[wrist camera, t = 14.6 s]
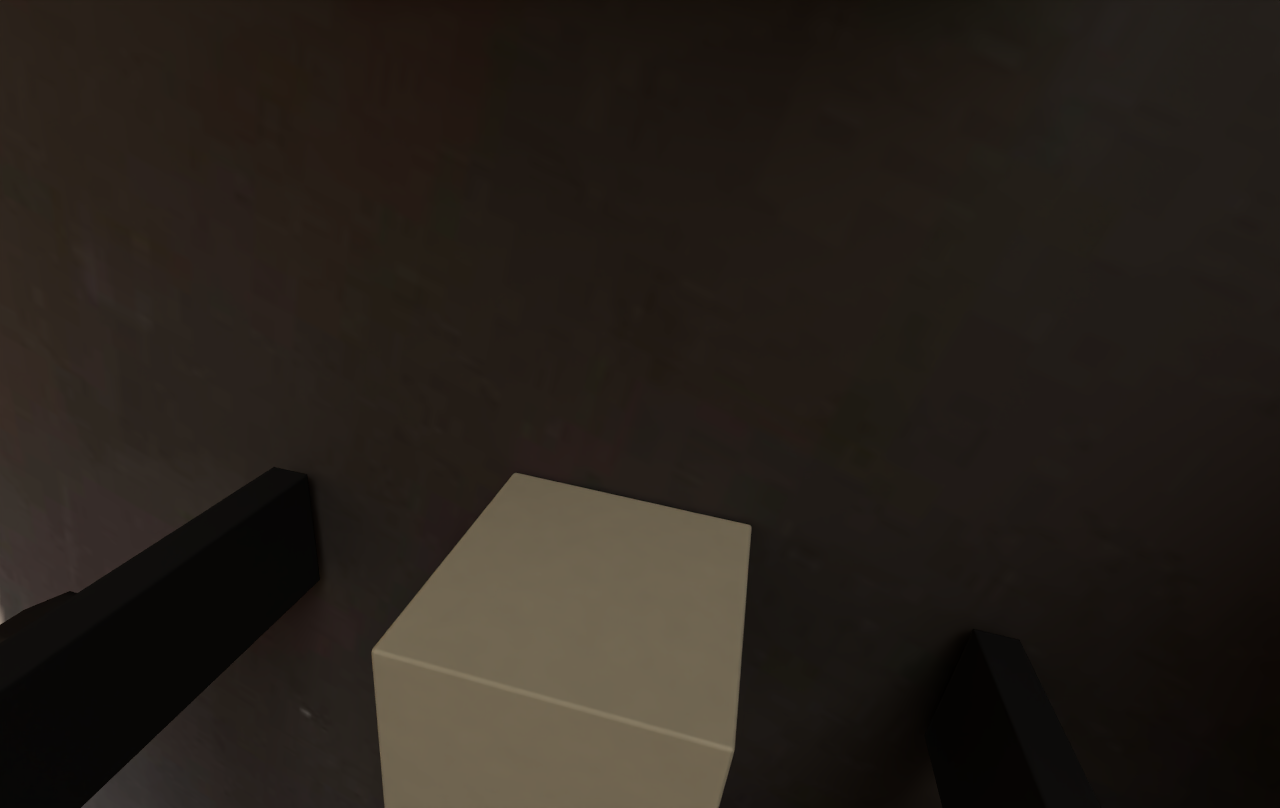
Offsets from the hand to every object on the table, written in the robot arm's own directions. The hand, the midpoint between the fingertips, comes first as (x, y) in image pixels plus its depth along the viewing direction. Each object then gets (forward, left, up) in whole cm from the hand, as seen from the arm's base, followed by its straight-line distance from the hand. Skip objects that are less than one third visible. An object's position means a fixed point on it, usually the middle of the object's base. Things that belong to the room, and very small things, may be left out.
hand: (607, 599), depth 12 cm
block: (0, 0, 0) cm, 0 cm away
